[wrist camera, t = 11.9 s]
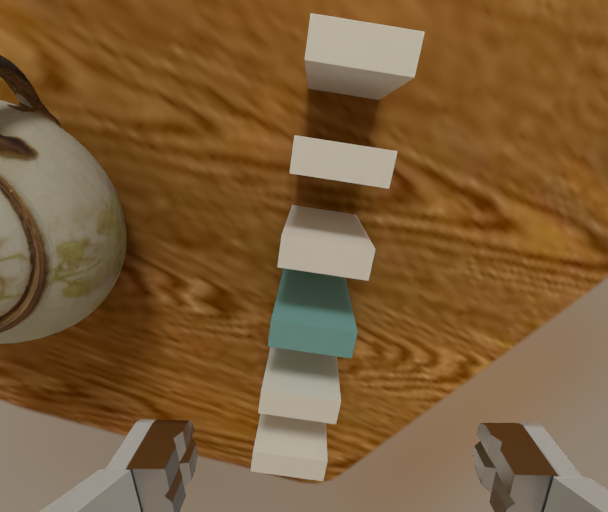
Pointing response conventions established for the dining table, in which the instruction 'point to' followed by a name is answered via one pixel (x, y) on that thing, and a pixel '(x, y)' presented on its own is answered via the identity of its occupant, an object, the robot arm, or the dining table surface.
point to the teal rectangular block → (313, 315)
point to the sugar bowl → (51, 221)
